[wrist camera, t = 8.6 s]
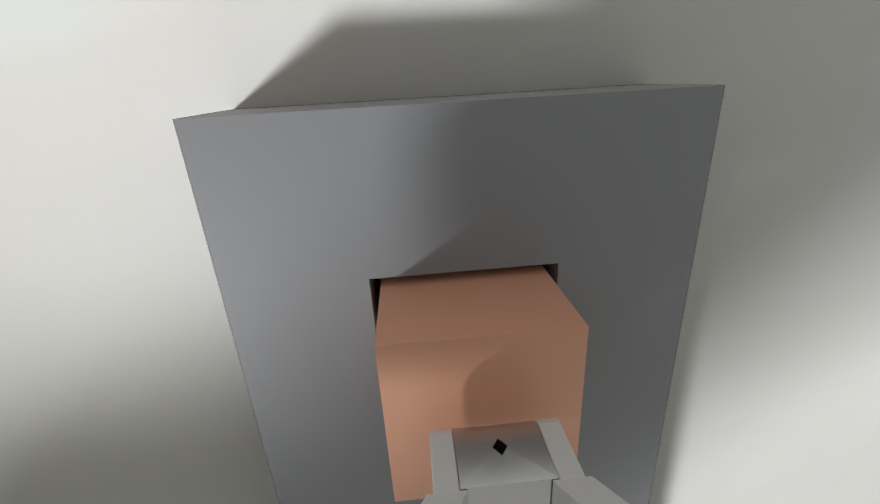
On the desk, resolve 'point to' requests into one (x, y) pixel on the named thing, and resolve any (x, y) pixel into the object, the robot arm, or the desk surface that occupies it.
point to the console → (449, 253)
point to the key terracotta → (473, 360)
